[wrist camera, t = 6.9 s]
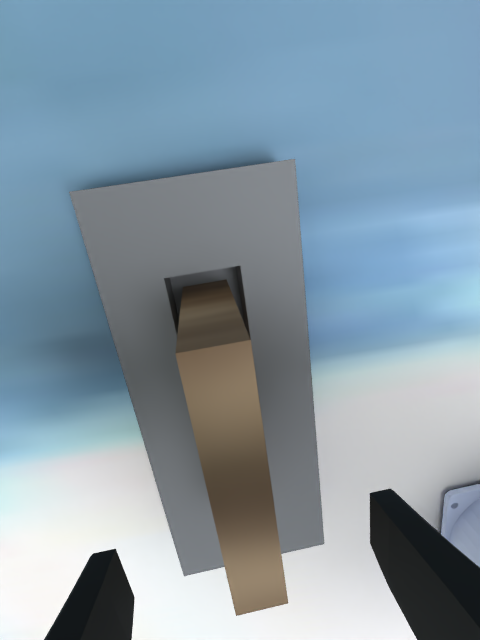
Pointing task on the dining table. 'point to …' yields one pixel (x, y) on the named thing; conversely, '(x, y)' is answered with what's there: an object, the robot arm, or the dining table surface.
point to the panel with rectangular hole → (163, 319)
